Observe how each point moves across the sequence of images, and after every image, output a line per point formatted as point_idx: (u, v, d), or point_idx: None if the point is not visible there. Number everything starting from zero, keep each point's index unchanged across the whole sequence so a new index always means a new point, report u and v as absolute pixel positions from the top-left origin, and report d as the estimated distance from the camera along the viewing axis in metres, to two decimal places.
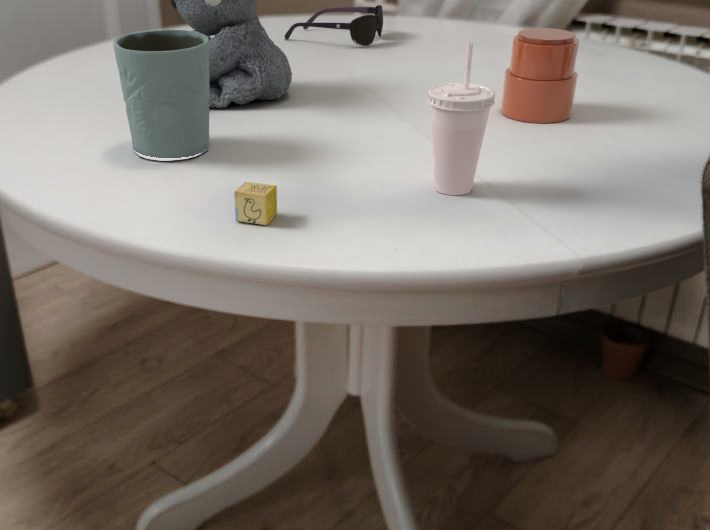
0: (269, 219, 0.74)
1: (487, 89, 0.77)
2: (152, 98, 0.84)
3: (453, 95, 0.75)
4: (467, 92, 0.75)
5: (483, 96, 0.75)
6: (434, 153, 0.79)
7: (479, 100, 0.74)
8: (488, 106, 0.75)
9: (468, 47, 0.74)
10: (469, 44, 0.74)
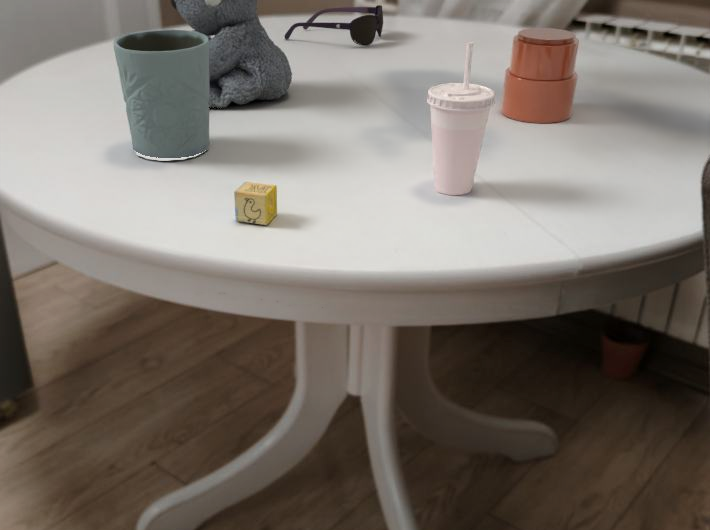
0: (269, 219, 0.74)
1: (487, 89, 0.77)
2: (152, 98, 0.84)
3: (453, 95, 0.75)
4: (467, 92, 0.75)
5: (483, 96, 0.75)
6: (434, 153, 0.79)
7: (479, 100, 0.74)
8: (488, 106, 0.75)
9: (468, 47, 0.74)
10: (469, 44, 0.74)
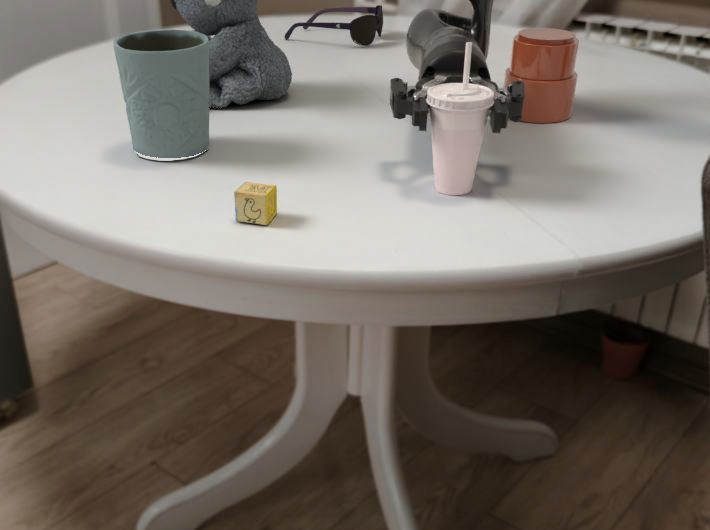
0: (269, 219, 0.74)
1: (486, 89, 0.77)
2: (152, 98, 0.84)
3: (452, 95, 0.75)
4: (466, 92, 0.75)
5: (482, 96, 0.75)
6: (434, 153, 0.79)
7: (478, 100, 0.74)
8: (487, 106, 0.75)
9: (467, 47, 0.74)
10: (468, 44, 0.74)
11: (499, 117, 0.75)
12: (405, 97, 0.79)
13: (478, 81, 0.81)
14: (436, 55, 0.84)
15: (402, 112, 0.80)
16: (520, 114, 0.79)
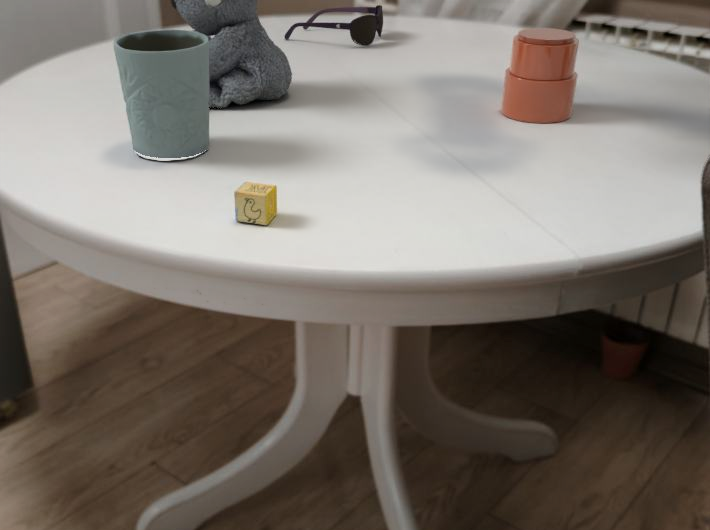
0: (269, 219, 0.74)
1: None
2: (152, 98, 0.84)
3: None
4: None
5: None
6: None
7: None
8: None
9: None
10: None
11: None
12: None
13: None
14: None
15: None
16: None
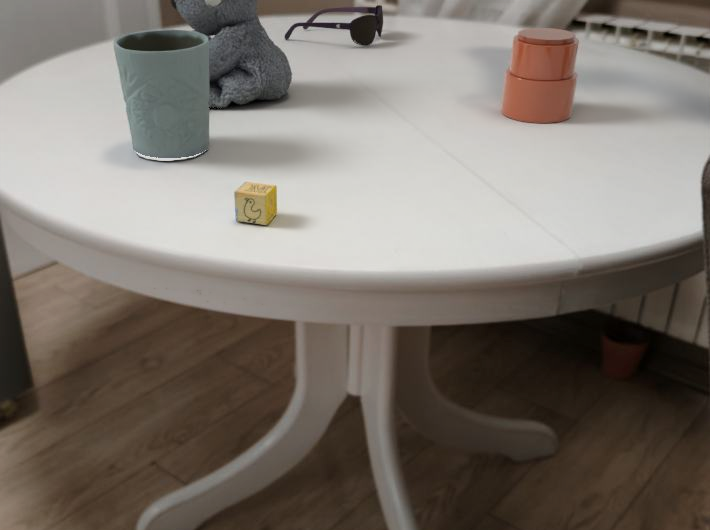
0: (269, 219, 0.74)
1: None
2: (152, 98, 0.84)
3: None
4: None
5: None
6: None
7: None
8: None
9: None
10: None
11: None
12: None
13: None
14: None
15: None
16: None
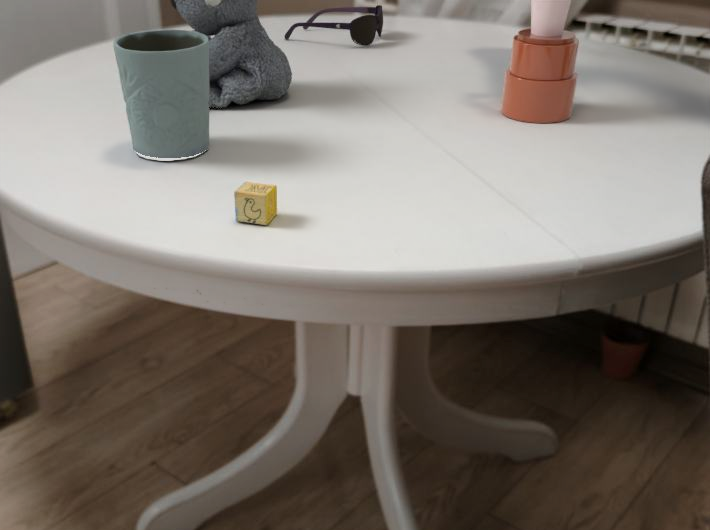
0: (269, 219, 0.74)
1: None
2: (152, 98, 0.84)
3: None
4: None
5: None
6: (533, 0, 0.95)
7: None
8: None
9: None
10: None
11: None
12: None
13: None
14: None
15: None
16: None
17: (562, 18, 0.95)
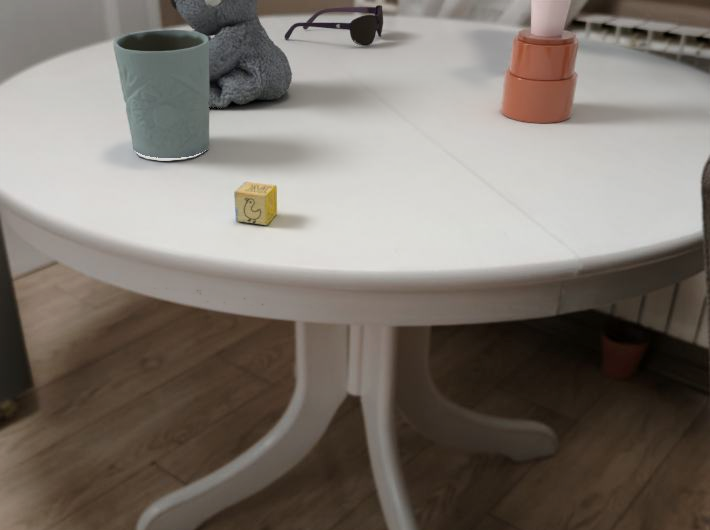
0: (269, 219, 0.74)
1: None
2: (152, 98, 0.84)
3: None
4: None
5: None
6: (533, 0, 0.95)
7: None
8: None
9: None
10: None
11: None
12: None
13: None
14: None
15: None
16: None
17: (562, 18, 0.95)
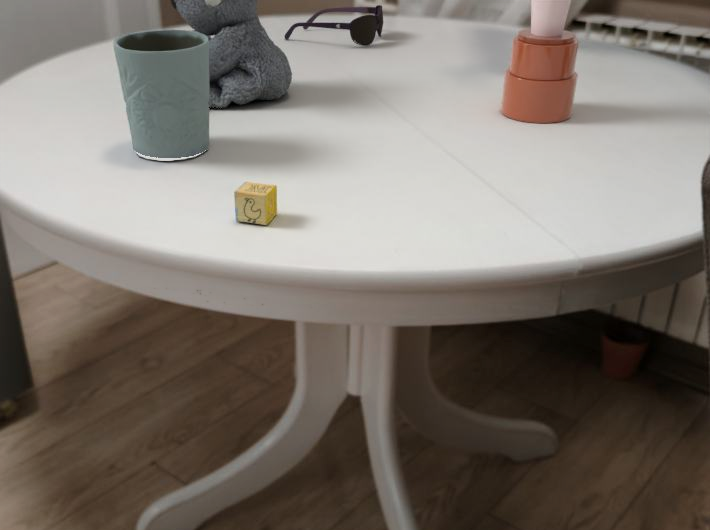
0: (269, 219, 0.74)
1: None
2: (152, 98, 0.84)
3: None
4: None
5: None
6: (533, 0, 0.95)
7: None
8: None
9: None
10: None
11: None
12: None
13: None
14: None
15: None
16: None
17: (562, 18, 0.95)
